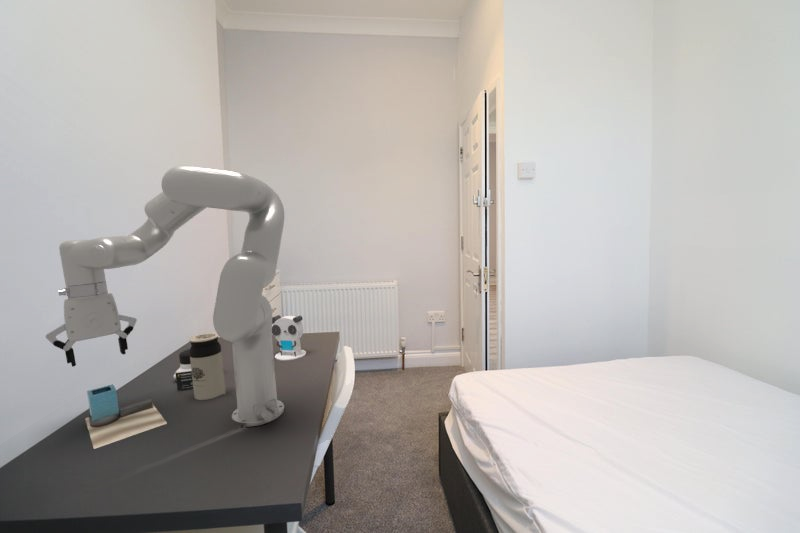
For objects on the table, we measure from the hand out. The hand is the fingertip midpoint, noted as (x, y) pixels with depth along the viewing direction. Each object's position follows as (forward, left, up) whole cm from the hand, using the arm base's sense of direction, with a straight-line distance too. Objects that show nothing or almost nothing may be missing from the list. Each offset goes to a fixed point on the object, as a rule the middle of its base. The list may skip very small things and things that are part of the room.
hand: (99, 359), depth 92 cm
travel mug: (-4, -23, -18) cm, 29 cm away
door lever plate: (-4, -3, -17) cm, 18 cm away
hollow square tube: (0, 0, -14) cm, 14 cm away
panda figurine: (+11, -56, -18) cm, 60 cm away
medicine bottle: (+7, -22, -18) cm, 29 cm away
